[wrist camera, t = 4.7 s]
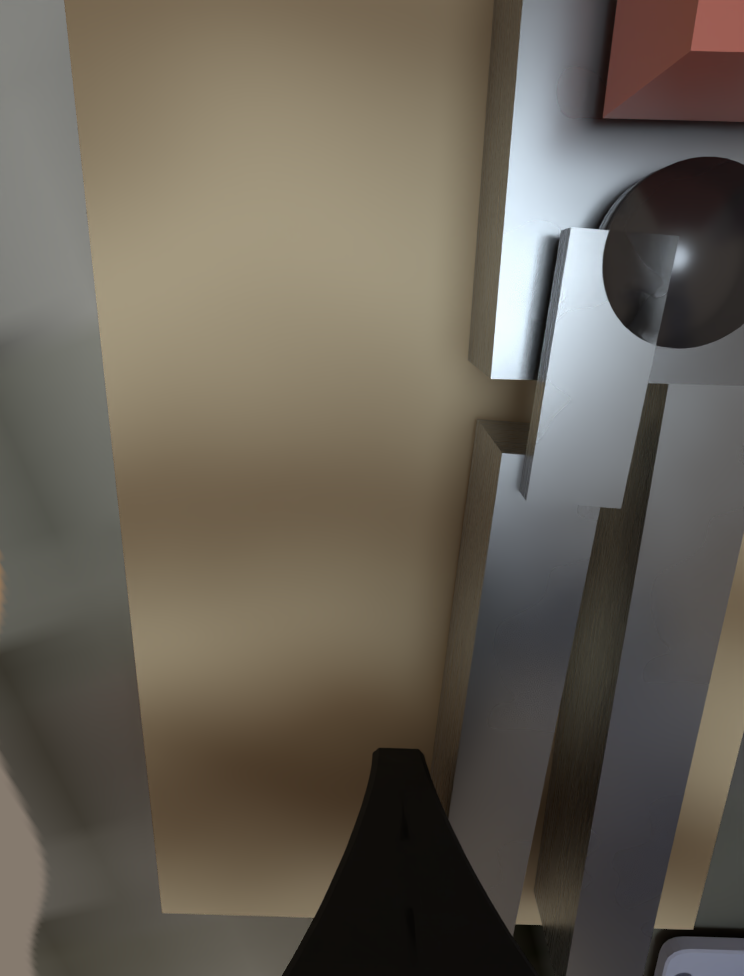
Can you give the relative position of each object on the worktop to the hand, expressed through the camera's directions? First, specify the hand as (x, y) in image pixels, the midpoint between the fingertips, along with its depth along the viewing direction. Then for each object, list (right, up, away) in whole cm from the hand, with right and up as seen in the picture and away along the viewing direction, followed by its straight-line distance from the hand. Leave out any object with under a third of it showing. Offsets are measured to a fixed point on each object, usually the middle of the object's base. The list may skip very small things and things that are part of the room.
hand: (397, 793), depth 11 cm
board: (+1, +5, +1) cm, 5 cm away
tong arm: (+2, +3, 0) cm, 4 cm away
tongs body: (+3, +5, 0) cm, 6 cm away
